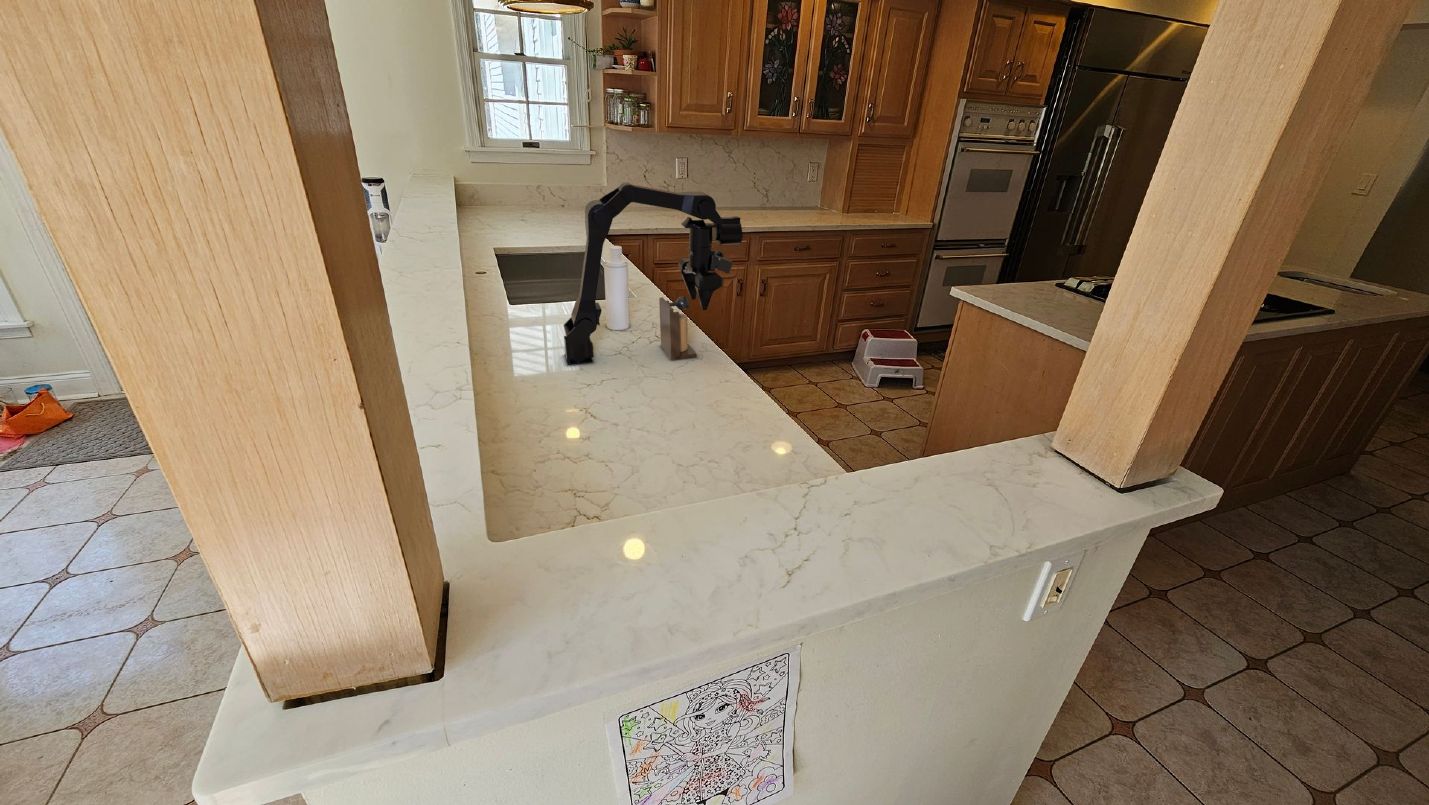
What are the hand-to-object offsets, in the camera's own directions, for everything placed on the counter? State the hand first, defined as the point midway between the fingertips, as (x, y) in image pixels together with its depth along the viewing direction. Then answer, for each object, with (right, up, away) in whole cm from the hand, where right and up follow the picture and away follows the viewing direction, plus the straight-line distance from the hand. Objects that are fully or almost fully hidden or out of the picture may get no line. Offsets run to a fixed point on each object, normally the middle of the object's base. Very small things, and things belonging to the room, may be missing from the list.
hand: (698, 304), depth 161 cm
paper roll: (-6, -7, +1) cm, 9 cm away
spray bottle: (-25, -3, +20) cm, 32 cm away
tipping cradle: (-9, -6, 0) cm, 11 cm away
